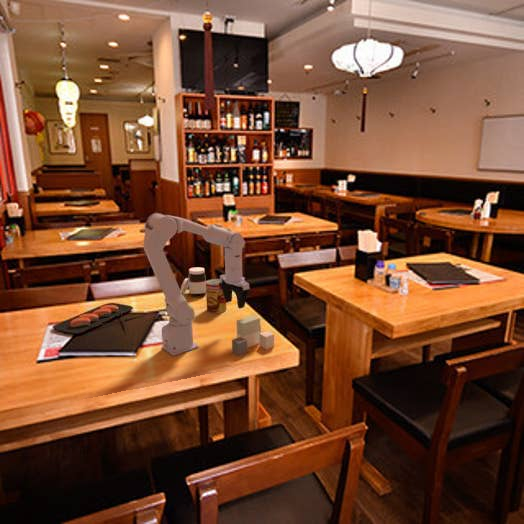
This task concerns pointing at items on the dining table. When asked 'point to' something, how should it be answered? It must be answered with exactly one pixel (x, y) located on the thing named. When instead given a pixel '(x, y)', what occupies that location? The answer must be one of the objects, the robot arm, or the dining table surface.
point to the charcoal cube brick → (239, 346)
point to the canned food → (215, 297)
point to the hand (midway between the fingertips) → (234, 304)
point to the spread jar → (195, 282)
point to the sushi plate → (87, 318)
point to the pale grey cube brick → (266, 340)
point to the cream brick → (251, 338)
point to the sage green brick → (248, 325)
